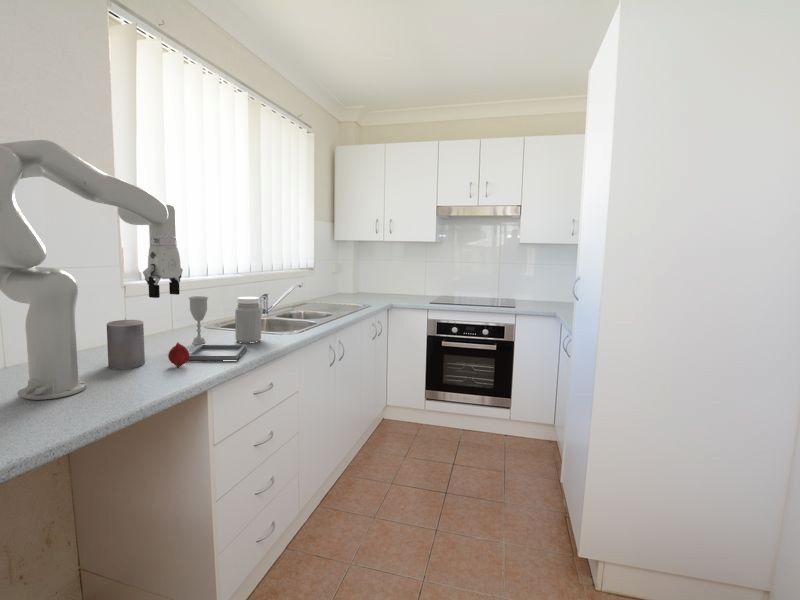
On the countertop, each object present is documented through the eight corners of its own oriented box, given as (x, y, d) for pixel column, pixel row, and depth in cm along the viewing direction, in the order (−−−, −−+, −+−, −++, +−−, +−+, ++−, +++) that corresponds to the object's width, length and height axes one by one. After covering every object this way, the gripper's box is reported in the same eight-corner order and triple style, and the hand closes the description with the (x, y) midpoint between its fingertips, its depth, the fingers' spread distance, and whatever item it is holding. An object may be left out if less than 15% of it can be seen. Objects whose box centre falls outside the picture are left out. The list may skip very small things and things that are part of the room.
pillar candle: (111, 362, 132) (109, 316, 130) (146, 359, 136) (145, 315, 134) (105, 371, 123) (102, 322, 121) (143, 368, 128) (141, 320, 126)
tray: (236, 361, 139) (236, 355, 139) (185, 361, 136) (185, 355, 136) (246, 349, 154) (246, 344, 154) (201, 349, 152) (201, 344, 152)
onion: (193, 364, 133) (192, 340, 132) (182, 370, 127) (181, 344, 126) (176, 363, 133) (175, 339, 132) (164, 368, 128) (163, 343, 127)
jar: (261, 343, 165) (261, 299, 163) (235, 344, 162) (235, 299, 159) (260, 338, 174) (260, 296, 172) (235, 339, 170) (235, 296, 168)
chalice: (184, 343, 160) (183, 297, 158) (198, 339, 166) (197, 295, 164) (200, 345, 158) (199, 299, 155) (213, 341, 164) (212, 297, 162)
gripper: (155, 242, 122) (157, 299, 124) (190, 243, 139) (191, 293, 141) (132, 241, 123) (134, 298, 125) (170, 242, 140) (171, 292, 142)
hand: (164, 295), depth 133 cm, fingers open, 9 cm apart
